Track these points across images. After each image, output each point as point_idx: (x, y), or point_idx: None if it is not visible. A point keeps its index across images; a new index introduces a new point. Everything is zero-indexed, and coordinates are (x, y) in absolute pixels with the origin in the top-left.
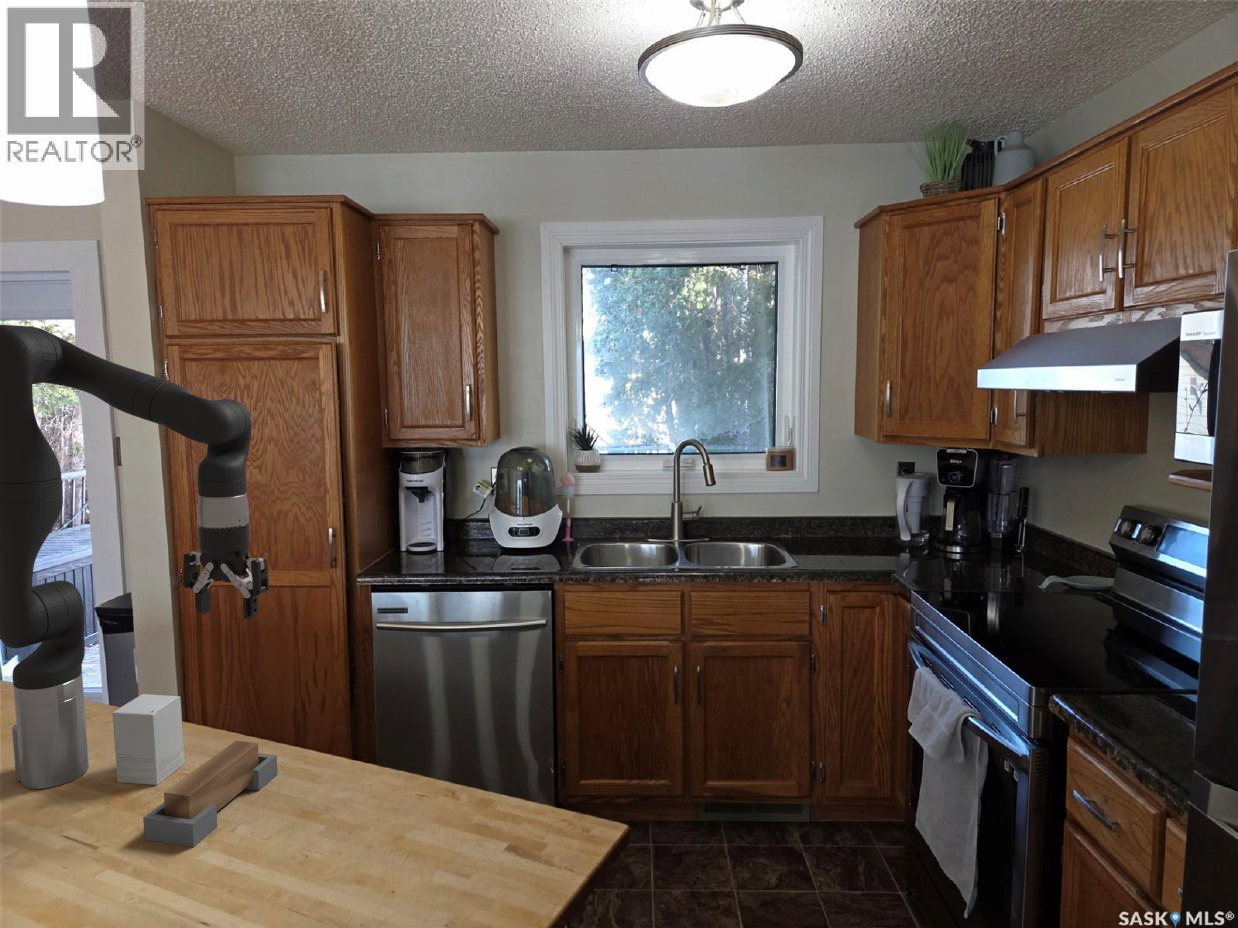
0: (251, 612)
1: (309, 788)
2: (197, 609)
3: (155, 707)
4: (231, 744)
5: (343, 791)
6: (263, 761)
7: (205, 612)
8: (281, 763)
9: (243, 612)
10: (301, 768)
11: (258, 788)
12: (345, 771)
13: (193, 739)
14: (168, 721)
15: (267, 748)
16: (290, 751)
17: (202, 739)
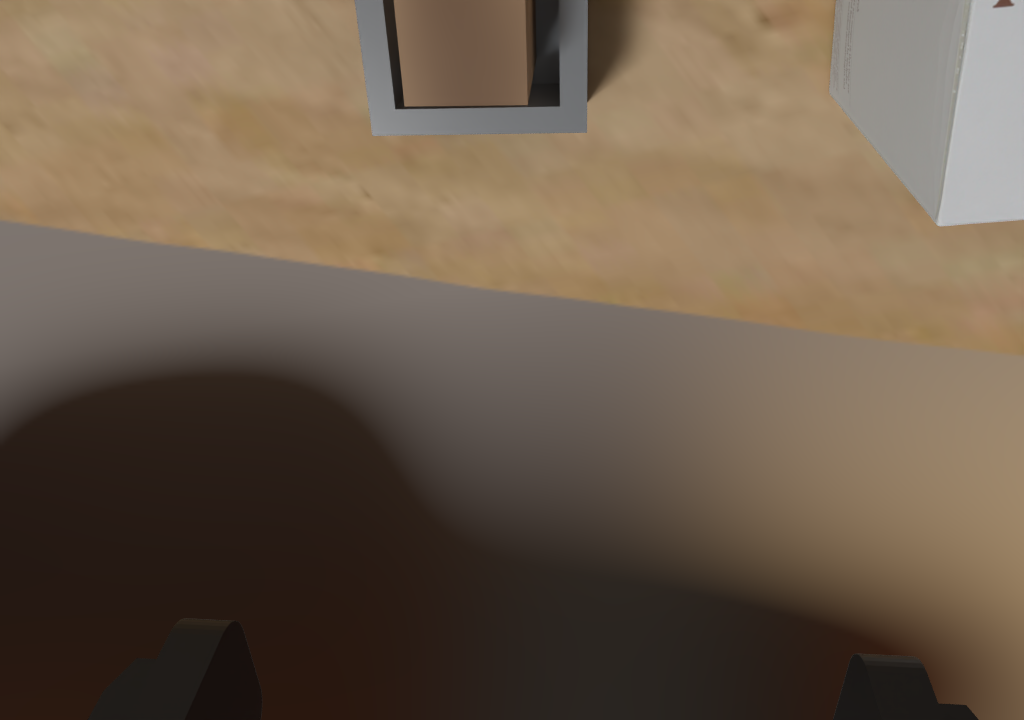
0: (109, 702)
1: (199, 47)
2: (958, 712)
3: (1012, 51)
4: (520, 64)
5: (64, 60)
6: (389, 74)
7: (843, 691)
8: (435, 185)
9: (194, 687)
10: (335, 170)
11: None
12: (166, 188)
13: (905, 266)
14: (913, 69)
15: (562, 268)
16: (462, 267)
17: (867, 273)
